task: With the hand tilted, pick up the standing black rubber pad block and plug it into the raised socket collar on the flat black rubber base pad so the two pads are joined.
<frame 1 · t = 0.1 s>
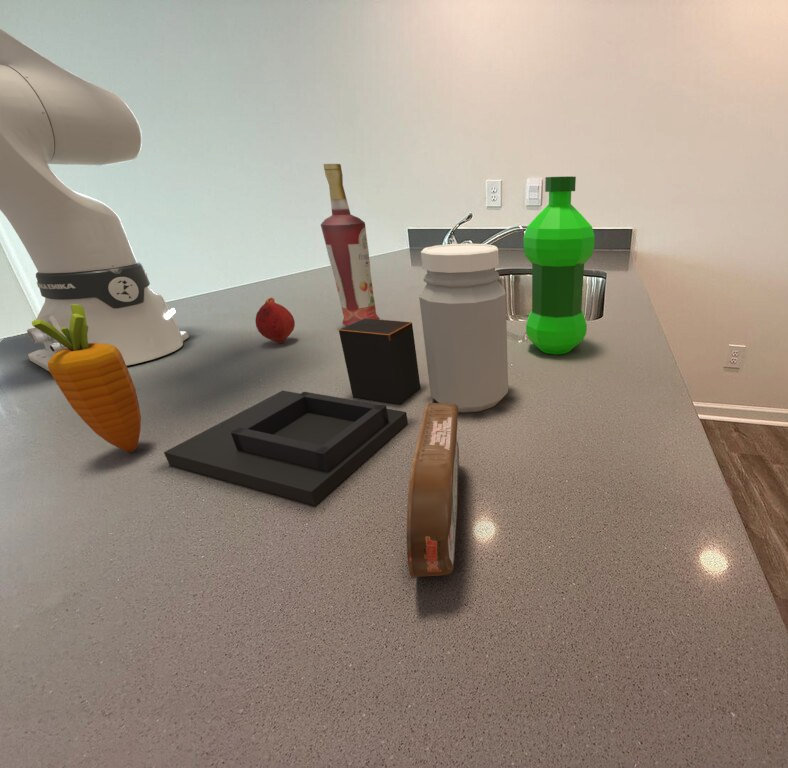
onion: (281, 343, 72), on the countertop
carrot: (133, 452, 42), on the countertop
tin: (444, 521, 32), on the countertop
jar: (470, 398, 51), on the countertop
pad block: (387, 392, 53), on the countertop
liquor: (362, 327, 79), on the countertop
base pad: (297, 442, 43), on the countertop
plastic bottle: (555, 349, 66), on the countertop
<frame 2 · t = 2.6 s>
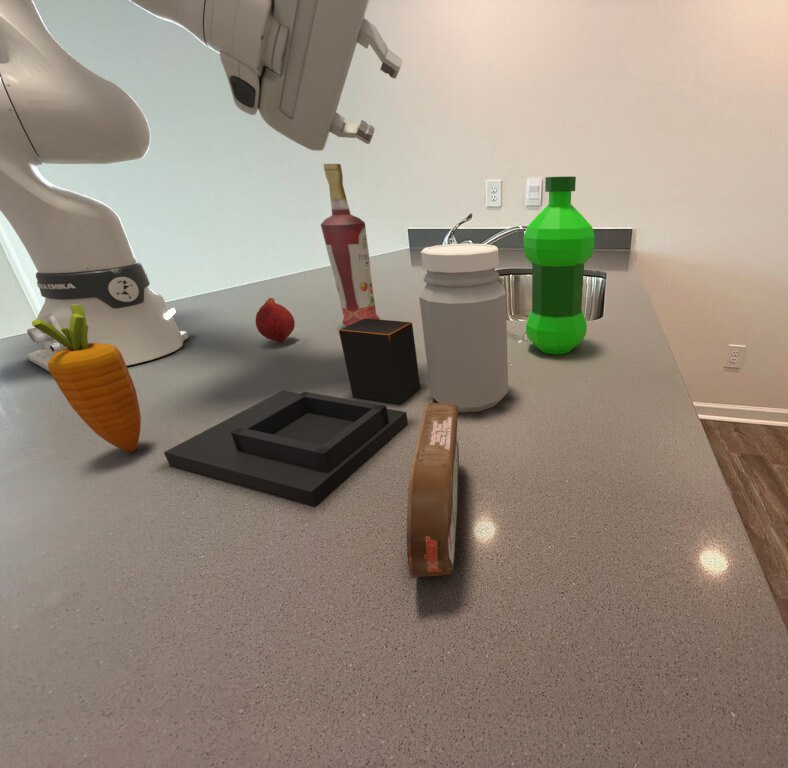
hand: (384, 105, 49), 33 cm above the countertop, tool tilted 60°, fingers open, 8 cm apart
nothing on the countertop moved.
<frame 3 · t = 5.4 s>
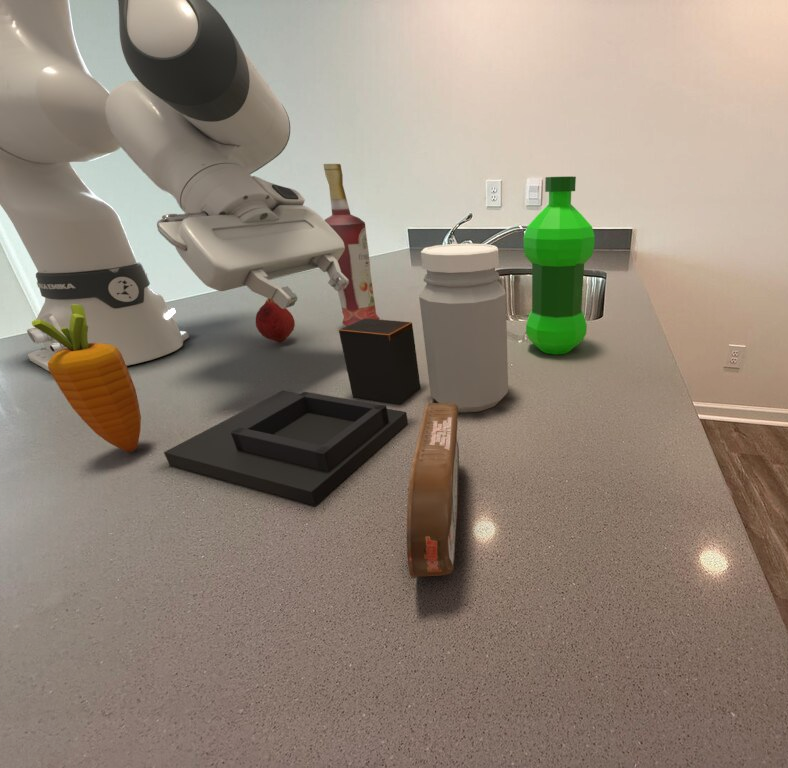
hand: (319, 294, 51), 12 cm above the countertop, tool tilted 45°, fingers open, 8 cm apart
nothing on the countertop moved.
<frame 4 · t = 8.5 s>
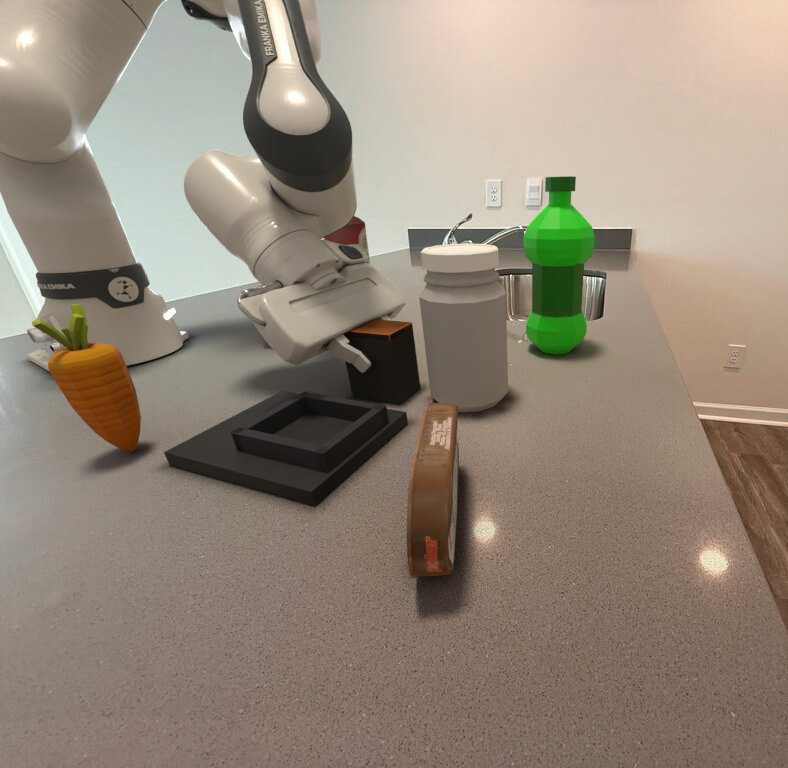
hand: (385, 357, 51), 5 cm above the countertop, tool tilted 45°, fingers closed on pad block, 5 cm apart
pad block: (387, 392, 53), on the countertop, touching gripper
everything else where it was.
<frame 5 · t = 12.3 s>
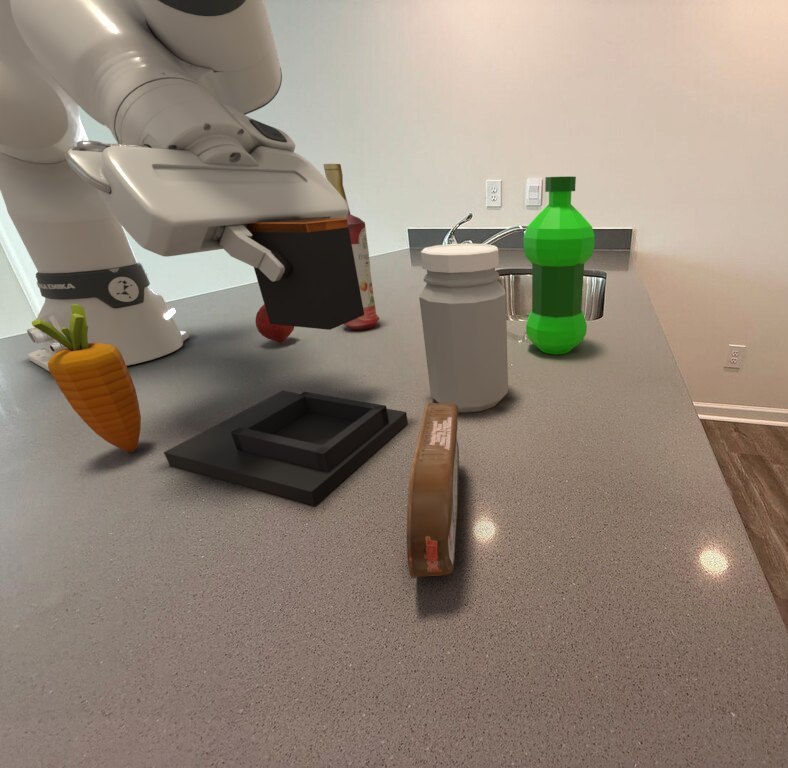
hand: (312, 268, 37), 17 cm above the countertop, tool tilted 45°, fingers closed on pad block, 5 cm apart
pad block: (318, 319, 40), point 12 cm above the countertop, touching gripper
everything else where it was.
when the fingers open (6 cm above the countertop, at t = 16.2 s): pad block stays where it is, resting on base pad.
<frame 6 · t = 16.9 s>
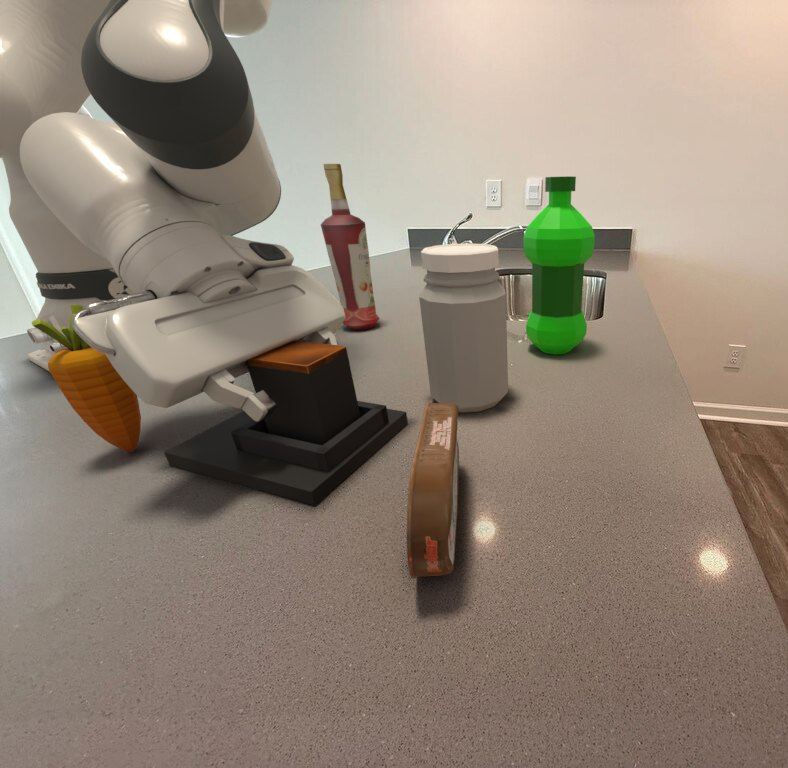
hand: (309, 390, 39), 7 cm above the countertop, tool tilted 45°, fingers open, 8 cm apart
pad block: (318, 434, 41), point 1 cm above the countertop, touching base pad
everything else where it was.
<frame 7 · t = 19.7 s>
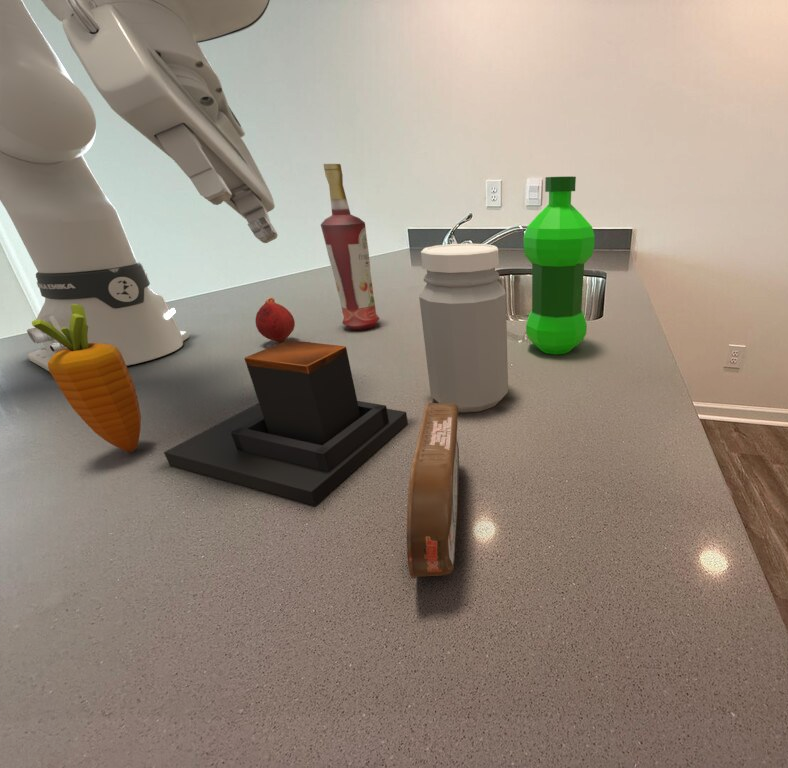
hand: (247, 221, 37), 21 cm above the countertop, tool tilted 35°, fingers open, 8 cm apart
nothing on the countertop moved.
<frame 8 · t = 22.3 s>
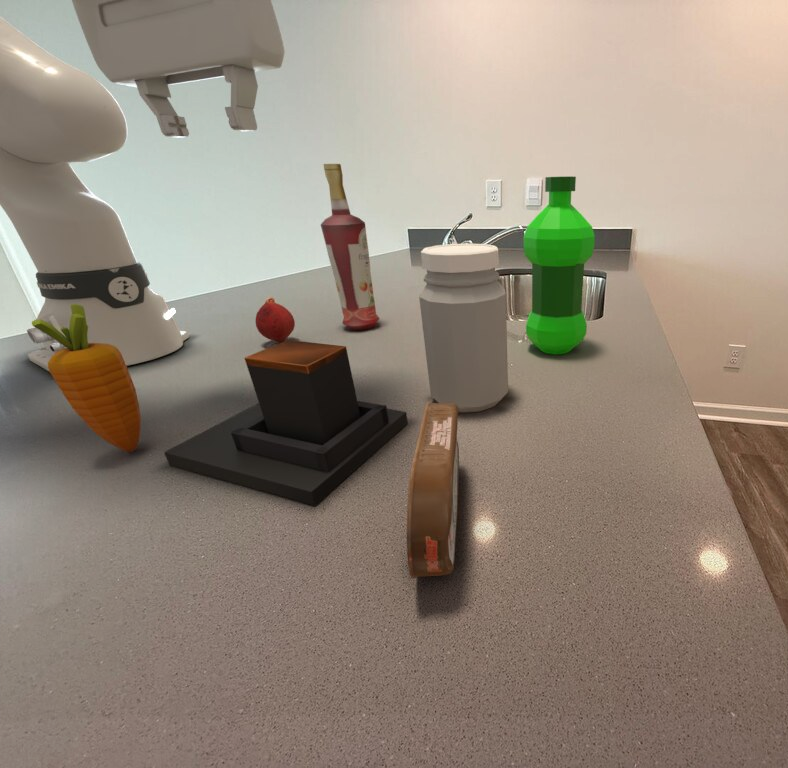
hand: (209, 133, 40), 29 cm above the countertop, tool pointing down, fingers open, 8 cm apart
nothing on the countertop moved.
at the end: pad block 0.1 cm from the target spot on the base pad, point 1.5 cm above the base pad's base; pad block tilted 0°; the gripper is holding nothing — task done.
